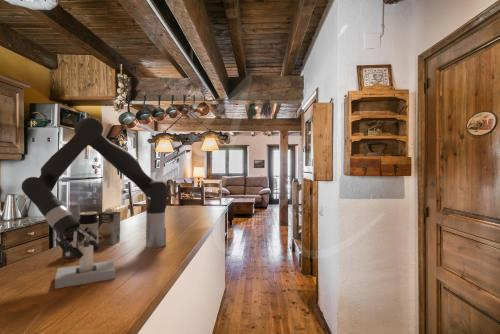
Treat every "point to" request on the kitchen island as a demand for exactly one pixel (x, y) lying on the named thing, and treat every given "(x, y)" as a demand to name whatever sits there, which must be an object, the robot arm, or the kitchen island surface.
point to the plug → (86, 258)
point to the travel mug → (88, 223)
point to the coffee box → (109, 227)
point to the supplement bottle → (68, 253)
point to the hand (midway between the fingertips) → (89, 253)
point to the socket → (84, 274)
